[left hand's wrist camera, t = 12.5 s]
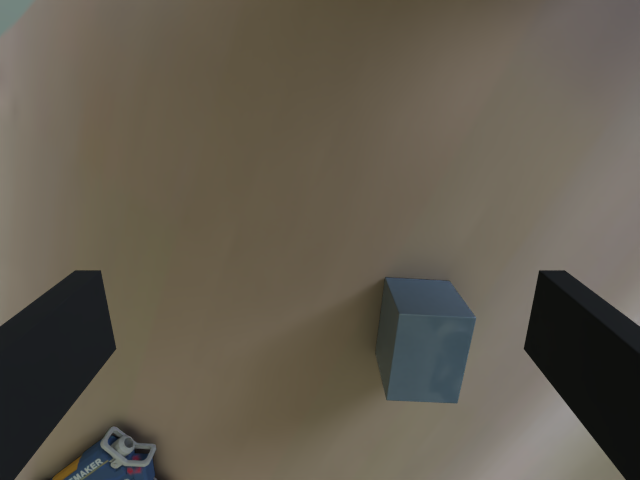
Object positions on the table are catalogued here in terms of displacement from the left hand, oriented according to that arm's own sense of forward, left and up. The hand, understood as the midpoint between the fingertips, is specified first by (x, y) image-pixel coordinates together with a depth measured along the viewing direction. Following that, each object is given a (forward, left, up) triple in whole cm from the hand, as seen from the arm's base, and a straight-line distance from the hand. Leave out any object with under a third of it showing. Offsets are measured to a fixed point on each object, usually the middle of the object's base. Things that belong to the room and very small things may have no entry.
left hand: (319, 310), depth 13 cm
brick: (-9, +17, -27) cm, 33 cm away
